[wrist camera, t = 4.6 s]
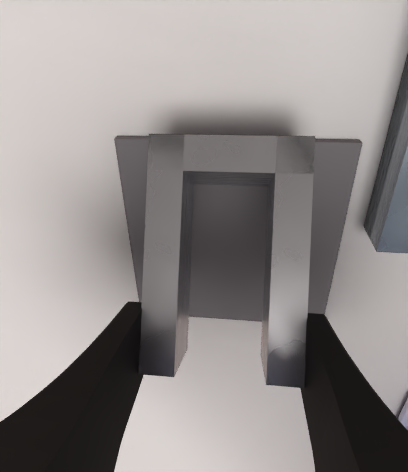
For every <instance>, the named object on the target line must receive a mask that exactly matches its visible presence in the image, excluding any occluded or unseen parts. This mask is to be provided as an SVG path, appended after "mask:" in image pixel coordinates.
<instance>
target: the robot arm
mask: <svg viewBox="0 0 408 472" xmlns="http://www.w3.org/2000/svg"><path fill="white" fill-rule="evenodd" d="M141 305H142V302H128V303H126V304H125V306H124V307H123V308H122V309H121V310H120V312H119V313H118V314H117V315H116V316H115V318H114V319H113V320H112V321H111V322H110V323H109V325H108V326H107V327H106V328H105V329H104V330H103V332H102V333H101V334H100V335H99V336H98V337H97V338H96V339H95V340H94V341H93V342H92V344H91V345H90V346H89V347H88V348H87V349H86V350H85V351H84V352H83V353H82V354H81V355H80V356H79V357H78V358H77V359H76V360H75V361H74V362H73V363H72V364H71V365H70V366H69V367H68V368H67V369H66V370H65V371H64V372H62V373H61V374H60V375H59V376H58V377H57V378H56V379H55V380H54V381H52V382H51V383H50V384H49V385H48V386H47V387H45V388H44V389H43V390H42V391H41V392H39V393H38V394H37V395H36V396H34V397H33V398H32V399H31V400H29V401H28V402H27V403H26V404H24V405H23V406H22V407H20V408H19V409H18V410H16V411H15V412H14V413H12V414H11V415H10V416H8V417H7V418H5V419H4V420H2V421H1V422H0V472H114V469H115V465H116V461H117V457H118V453H119V448H120V444H121V441H122V438H123V434H124V431H125V428H126V425H127V422H128V419H129V416H130V413H131V410H132V408H133V405H134V402H135V399H136V396H137V393H138V390H139V387H140V384H141V381H142V378H143V375H144V374H138V373H139V352H140V341H141V318H142V308H141ZM301 393H302V398H303V404H304V409H305V414H306V419H307V424H308V430H309V435H310V440H311V445H312V451H313V457H314V464H315V472H408V398H407V400H406V402H405V405H404V407H403V409H402V411H401V413H400V415H399V417H398V419H397V418H396V416H395V415H394V414H393V413H392V412H391V411H390V409H389V408H388V407H387V406H386V405H385V403H384V402H383V401H382V400H381V398H380V397H379V396H378V395H377V393H376V392H375V391H374V389H373V388H372V387H371V385H370V384H369V383H368V382H367V380H366V379H365V377H364V376H363V375H362V373H361V372H360V370H359V369H358V367H357V366H356V365H355V363H354V362H353V360H352V359H351V357H350V356H349V354H348V353H347V351H346V350H345V348H344V347H343V345H342V343H341V342H340V340H339V339H338V337H337V335H336V334H335V332H334V330H333V328H332V327H331V325H330V323H329V321H328V320H327V318H326V316H325V315H324V314H317V313H308V316H307V326H306V350H305V386H304V388H301Z"/></svg>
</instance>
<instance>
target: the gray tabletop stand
mask: <svg viewBox="0 0 408 472" xmlns="http://www.w3.org/2000/svg"><path fill="white" fill-rule="evenodd" d="M314 152H315V136H257V135H188V134H149V145H148V168H147V191H146V214H145V236H144V259H143V282H142V305H141V308H142V318H141V341H140V352H139V373H138V374H144V375H156V376H168V377H174V376H175V374H176V372H177V370H178V368H179V366H180V363H181V361H182V359H183V357H184V355H185V353H186V351H187V347H188V324H189V301H190V278H191V255H192V232H193V209H194V186H195V184H198V185H233V186H268V201H267V224H266V247H265V270H264V294H263V317H262V340H261V358H262V364H263V370H264V375H265V381H266V385H275V386H287V387H299V388H304V386H305V350H306V326H307V316H308V292H309V269H310V245H311V222H312V199H313V175H314Z"/></svg>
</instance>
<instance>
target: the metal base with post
mask: <svg viewBox="0 0 408 472" xmlns="http://www.w3.org/2000/svg"><path fill="white" fill-rule="evenodd" d="M364 228H365V230H366V232H367V234H368V236H369V238H370V240H371V242H372V244H373V246H374V248H375V250H376V252H393V253H408V56H407V60H406V63H405V67H404V71H403V75H402V79H401V83H400V87H399V91H398V95H397V99H396V103H395V107H394V110H393V114H392V118H391V122H390V126H389V130H388V134H387V138H386V142H385V146H384V150H383V153H382V157H381V161H380V165H379V169H378V173H377V177H376V181H375V185H374V189H373V193H372V197H371V200H370V204H369V208H368V212H367V216H366V220H365V224H364Z"/></svg>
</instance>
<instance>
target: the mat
mask: <svg viewBox="0 0 408 472" xmlns="http://www.w3.org/2000/svg"><path fill="white" fill-rule="evenodd" d="M114 140H115V146H116V153H117V159H118V166H119V172H120V179H121V186H122V192H123V199H124V205H125V212H126V218H127V225H128V231H129V238H130V245H131V251H132V258H133V264H134V271H135V277H136V284H137V290H138V297H139V302H142V282H143V259H144V236H145V214H146V191H147V168H148V145H149V136H117V137H116V138H115V139H114ZM361 147H362V142H361V141H360V140H341V139H315V152H314V175H313V199H312V222H311V245H310V269H309V292H308V313H317V314H325V310H326V305H327V301H328V296H329V292H330V287H331V282H332V278H333V273H334V269H335V264H336V260H337V255H338V251H339V246H340V242H341V237H342V233H343V228H344V224H345V219H346V215H347V210H348V206H349V201H350V196H351V192H352V187H353V183H354V178H355V174H356V169H357V165H358V160H359V156H360V151H361ZM267 201H268V186H233V185H198V184H195V186H194V209H193V232H192V255H191V278H190V301H189V317H204V318H219V319H233V320H248V321H262V317H263V294H264V270H265V247H266V224H267Z"/></svg>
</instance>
